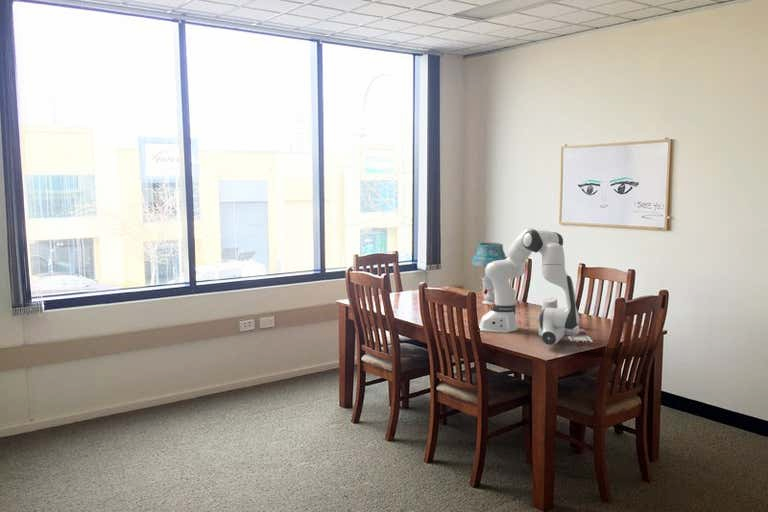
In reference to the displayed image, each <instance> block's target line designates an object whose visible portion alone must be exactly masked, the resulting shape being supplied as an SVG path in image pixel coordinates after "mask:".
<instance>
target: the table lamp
mask: <svg viewBox="0 0 768 512" xmlns="http://www.w3.org/2000/svg"><path fill="white" fill-rule="evenodd" d="M506 258H508V257H507V256H506V253H505V251H504V245H503V243H501V242H479V243H478V246H477V251H476V252H475V255H474V256H473V258H472V262H471V265H472V267H477V268H485V269H486V266H487V265H488V264H489V263H491V262H493V261H498V260H505V259H506ZM481 281H482V286H483V288H484V289H485V290H486V291H487V292H486V294H485V295H484V299H485V300H484V301H482V304H483V305H487V306H488V305H489V306H490V303H493V304H494V303H495V294H493V291H495V290H494V286H493V283H492V282H491V280H490V279H489V278H488V277H487V276H486V273H485V272H484V276H483V277H481Z"/></svg>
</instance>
